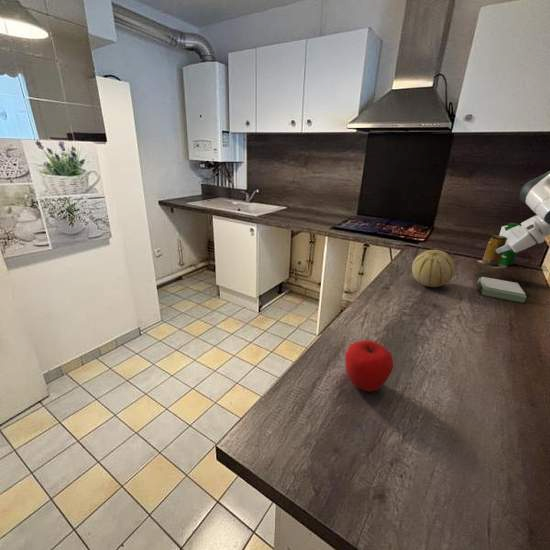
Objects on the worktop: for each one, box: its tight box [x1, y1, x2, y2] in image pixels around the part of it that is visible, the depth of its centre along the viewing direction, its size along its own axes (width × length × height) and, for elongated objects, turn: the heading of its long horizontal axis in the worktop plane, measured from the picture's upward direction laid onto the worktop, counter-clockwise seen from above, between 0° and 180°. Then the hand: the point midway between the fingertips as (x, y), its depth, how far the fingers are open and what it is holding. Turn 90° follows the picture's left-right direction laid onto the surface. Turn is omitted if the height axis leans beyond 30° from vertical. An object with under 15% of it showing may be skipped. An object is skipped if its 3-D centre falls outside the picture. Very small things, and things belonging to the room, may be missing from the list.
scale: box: [477, 276, 527, 304], centre depth 112 cm, size 13×12×3 cm
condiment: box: [477, 234, 508, 269], centre depth 122 cm, size 7×8×12 cm
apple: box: [344, 339, 394, 393], centre depth 63 cm, size 10×10×11 cm
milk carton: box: [499, 222, 520, 267], centre depth 141 cm, size 9×9×20 cm
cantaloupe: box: [411, 249, 456, 288], centre depth 114 cm, size 15×15×15 cm
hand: (494, 249), depth 122 cm, fingers closed on condiment, 6 cm apart
